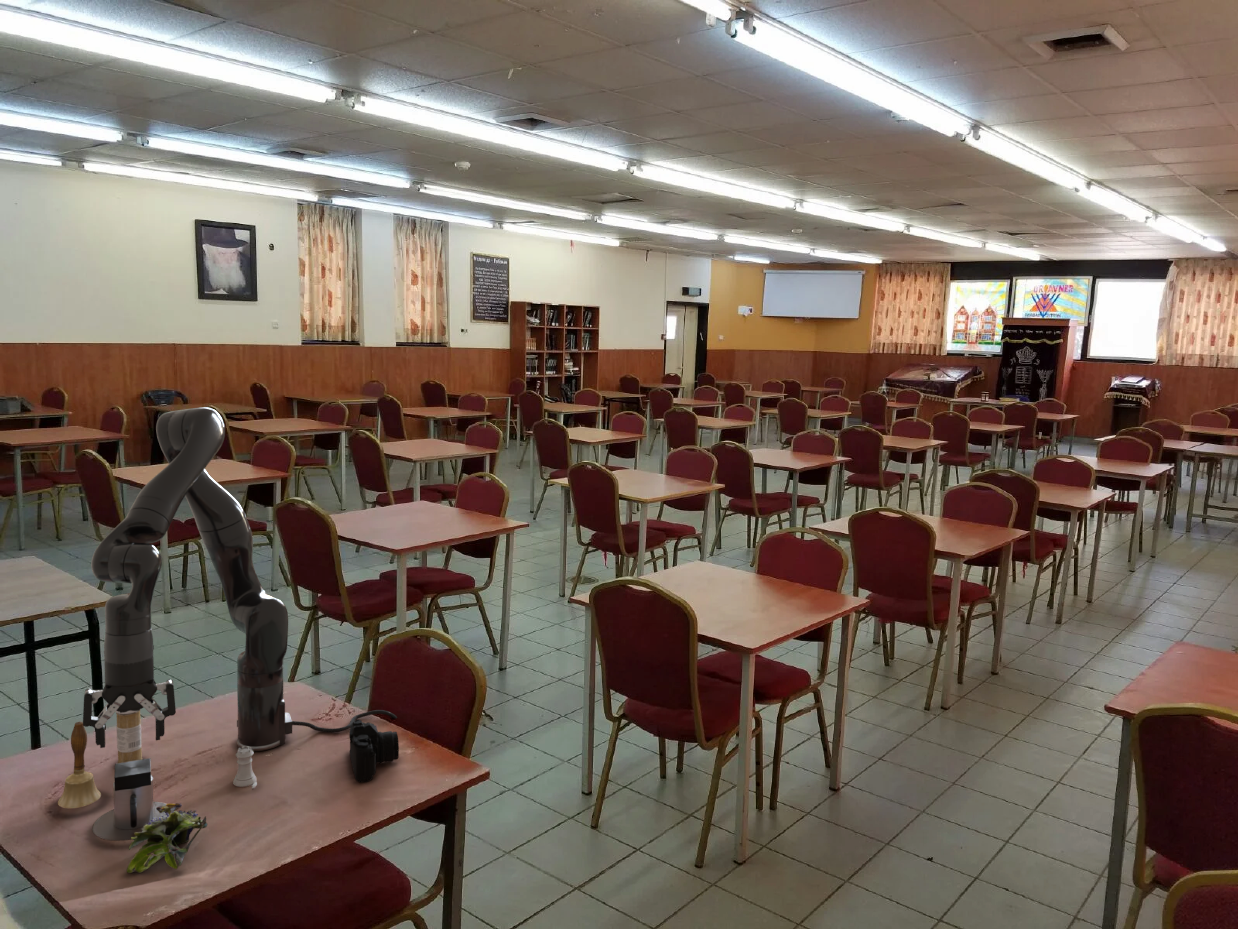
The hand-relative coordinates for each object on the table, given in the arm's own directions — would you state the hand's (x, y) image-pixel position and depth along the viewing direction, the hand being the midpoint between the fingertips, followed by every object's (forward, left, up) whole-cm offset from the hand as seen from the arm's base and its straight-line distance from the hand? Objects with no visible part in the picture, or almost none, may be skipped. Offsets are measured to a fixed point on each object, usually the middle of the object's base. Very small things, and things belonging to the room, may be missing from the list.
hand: (130, 742), depth 156 cm
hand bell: (+9, -12, -16) cm, 22 cm away
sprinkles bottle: (+1, -26, -16) cm, 31 cm away
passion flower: (-6, +14, -16) cm, 23 cm away
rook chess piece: (-19, -7, -16) cm, 26 cm away
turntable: (0, 0, -16) cm, 16 cm away
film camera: (-44, -7, -16) cm, 48 cm away
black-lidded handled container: (0, +1, -15) cm, 15 cm away
